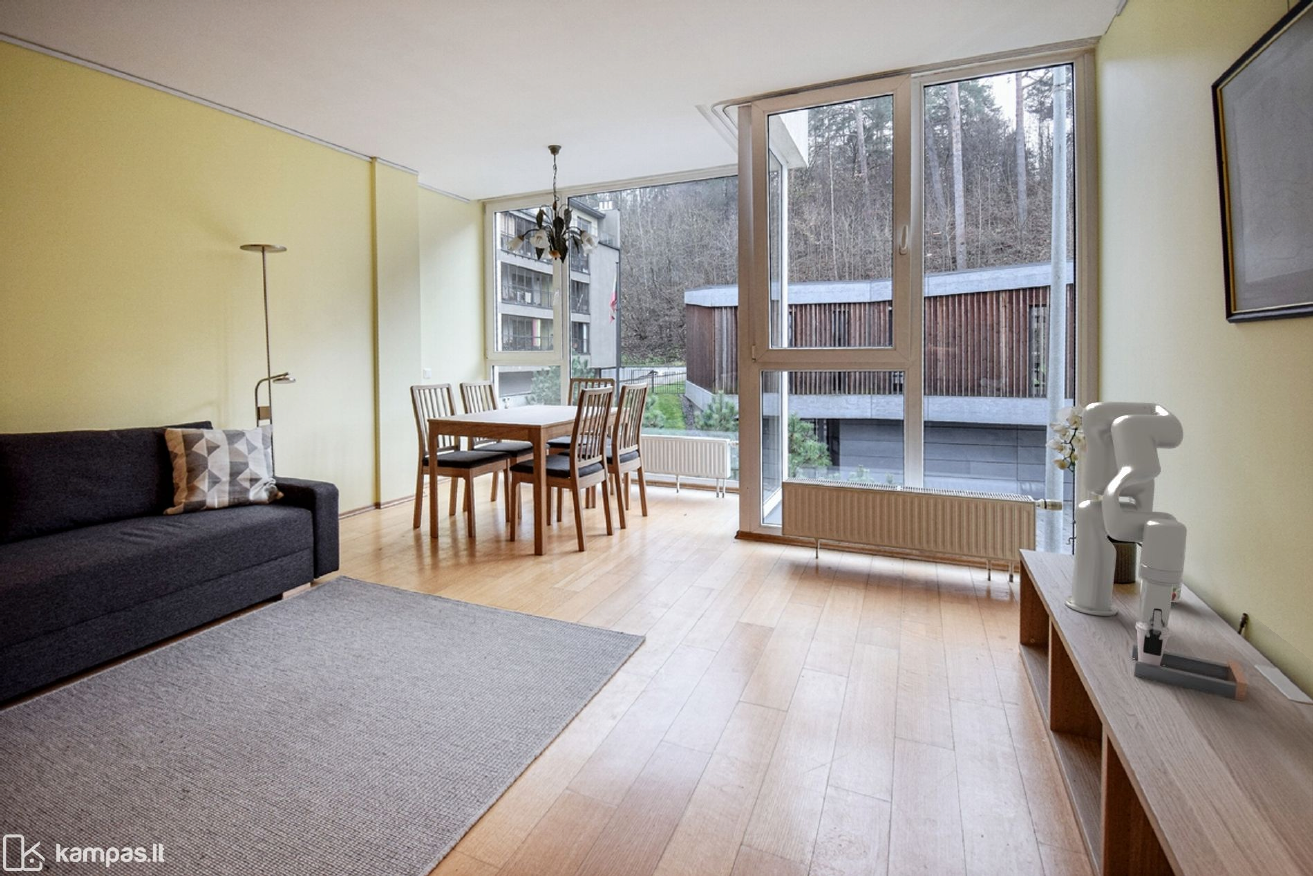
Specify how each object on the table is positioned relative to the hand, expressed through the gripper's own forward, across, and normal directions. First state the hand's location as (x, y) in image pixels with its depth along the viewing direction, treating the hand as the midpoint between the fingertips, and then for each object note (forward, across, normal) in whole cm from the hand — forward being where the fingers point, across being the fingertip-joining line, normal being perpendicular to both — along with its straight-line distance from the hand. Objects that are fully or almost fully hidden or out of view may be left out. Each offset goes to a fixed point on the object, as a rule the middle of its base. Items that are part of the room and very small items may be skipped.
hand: (1150, 647), depth 145 cm
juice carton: (+6, -56, +6) cm, 56 cm away
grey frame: (+5, 0, +6) cm, 8 cm away
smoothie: (+5, 0, 0) cm, 5 cm away
